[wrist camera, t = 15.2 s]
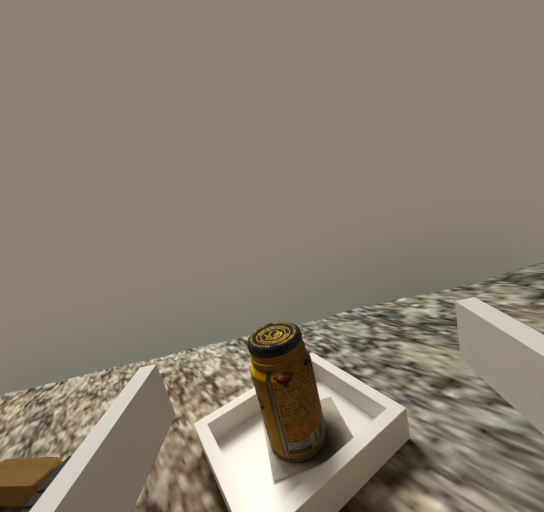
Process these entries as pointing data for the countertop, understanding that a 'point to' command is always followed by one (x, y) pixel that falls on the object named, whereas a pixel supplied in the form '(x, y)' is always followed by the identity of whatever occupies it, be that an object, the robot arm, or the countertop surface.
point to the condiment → (292, 402)
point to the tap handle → (23, 479)
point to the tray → (314, 481)
